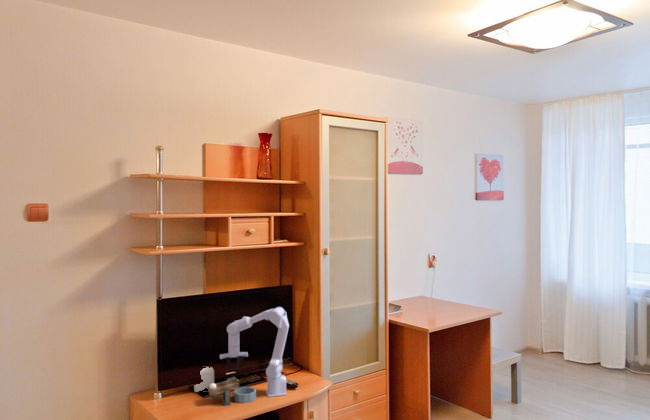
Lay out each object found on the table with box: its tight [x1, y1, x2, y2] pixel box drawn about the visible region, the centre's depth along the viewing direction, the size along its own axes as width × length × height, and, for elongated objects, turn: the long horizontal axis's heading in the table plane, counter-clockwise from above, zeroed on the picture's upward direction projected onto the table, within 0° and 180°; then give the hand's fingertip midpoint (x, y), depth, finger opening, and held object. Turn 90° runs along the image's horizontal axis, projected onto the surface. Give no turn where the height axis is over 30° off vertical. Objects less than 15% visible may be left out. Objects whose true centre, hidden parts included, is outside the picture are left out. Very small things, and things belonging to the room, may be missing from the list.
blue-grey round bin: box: [233, 386, 257, 404], centre depth 255 cm, size 11×11×4 cm
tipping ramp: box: [207, 376, 240, 400], centre depth 255 cm, size 15×15×4 cm
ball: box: [209, 382, 217, 390], centre depth 250 cm, size 4×4×4 cm
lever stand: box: [221, 389, 232, 406], centre depth 252 cm, size 3×12×8 cm, turn 18°
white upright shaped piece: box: [193, 366, 215, 393], centre depth 266 cm, size 10×4×12 cm, turn 104°
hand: (234, 371), depth 267 cm, fingers open, 4 cm apart
